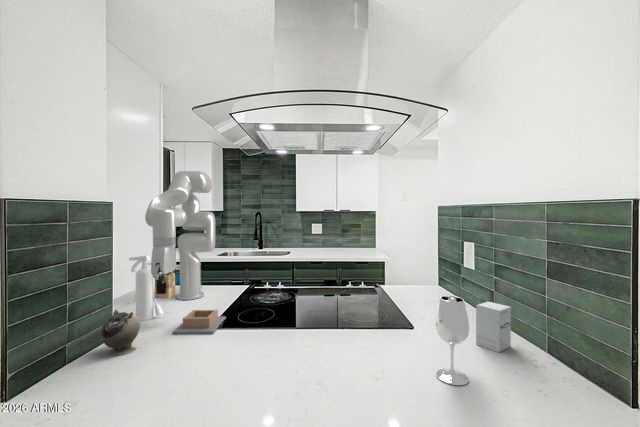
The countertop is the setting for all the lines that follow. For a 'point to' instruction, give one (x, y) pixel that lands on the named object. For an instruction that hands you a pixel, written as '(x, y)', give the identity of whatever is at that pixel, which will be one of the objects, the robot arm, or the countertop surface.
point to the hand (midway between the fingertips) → (165, 290)
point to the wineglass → (452, 334)
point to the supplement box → (493, 326)
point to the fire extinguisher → (145, 290)
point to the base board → (200, 322)
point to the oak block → (167, 286)
